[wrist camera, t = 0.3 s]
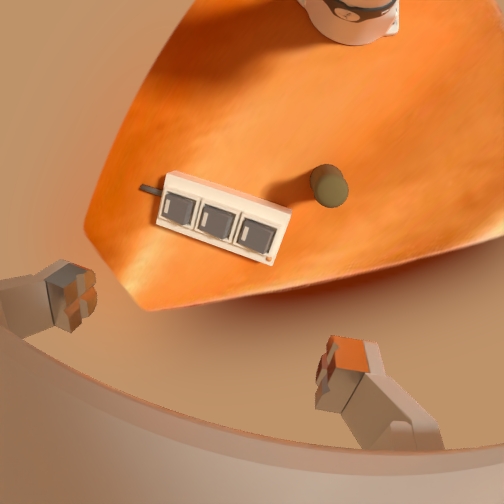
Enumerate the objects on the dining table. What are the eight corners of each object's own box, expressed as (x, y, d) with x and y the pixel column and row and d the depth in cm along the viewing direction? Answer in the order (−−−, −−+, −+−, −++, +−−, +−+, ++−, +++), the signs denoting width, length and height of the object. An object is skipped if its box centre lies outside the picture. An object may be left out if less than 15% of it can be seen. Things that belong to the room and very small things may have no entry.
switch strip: (149, 162, 56) (134, 165, 51) (292, 209, 55) (290, 217, 49) (139, 209, 60) (125, 216, 55) (274, 257, 59) (271, 269, 53)
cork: (350, 184, 51) (361, 196, 41) (324, 204, 53) (328, 221, 43) (329, 157, 50) (335, 162, 40) (302, 178, 52) (301, 188, 42)
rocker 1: (172, 193, 52) (166, 194, 51) (193, 202, 51) (187, 203, 50) (167, 213, 54) (161, 215, 52) (188, 223, 53) (182, 225, 51)
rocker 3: (249, 219, 52) (244, 221, 50) (274, 230, 50) (270, 233, 49) (242, 240, 53) (237, 242, 52) (266, 252, 52) (262, 254, 51)
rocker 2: (209, 205, 52) (203, 207, 51) (233, 216, 51) (228, 218, 49) (203, 226, 54) (198, 228, 52) (226, 237, 52) (221, 239, 51)
